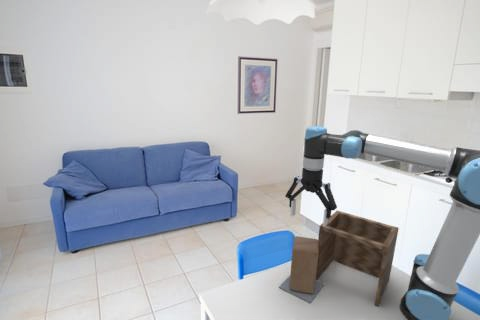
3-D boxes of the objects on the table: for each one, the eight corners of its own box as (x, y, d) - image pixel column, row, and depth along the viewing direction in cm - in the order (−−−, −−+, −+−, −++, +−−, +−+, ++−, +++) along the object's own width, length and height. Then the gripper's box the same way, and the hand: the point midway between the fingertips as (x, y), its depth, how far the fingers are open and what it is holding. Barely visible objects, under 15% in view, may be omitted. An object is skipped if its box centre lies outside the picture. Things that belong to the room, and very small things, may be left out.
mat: (324, 284, 123) (324, 283, 123) (310, 303, 112) (310, 302, 112) (294, 271, 131) (294, 270, 131) (278, 287, 120) (278, 286, 120)
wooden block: (314, 295, 116) (318, 251, 111) (289, 291, 118) (292, 247, 113) (314, 280, 125) (318, 238, 120) (291, 275, 127) (294, 234, 122)
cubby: (389, 280, 127) (398, 227, 120) (377, 307, 111) (388, 248, 105) (331, 258, 142) (336, 210, 136) (314, 278, 127) (319, 225, 120)
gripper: (349, 172, 104) (343, 226, 109) (288, 160, 119) (285, 208, 124) (342, 177, 98) (336, 233, 104) (278, 164, 113) (276, 214, 118)
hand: (308, 220), depth 114 cm, fingers open, 13 cm apart
